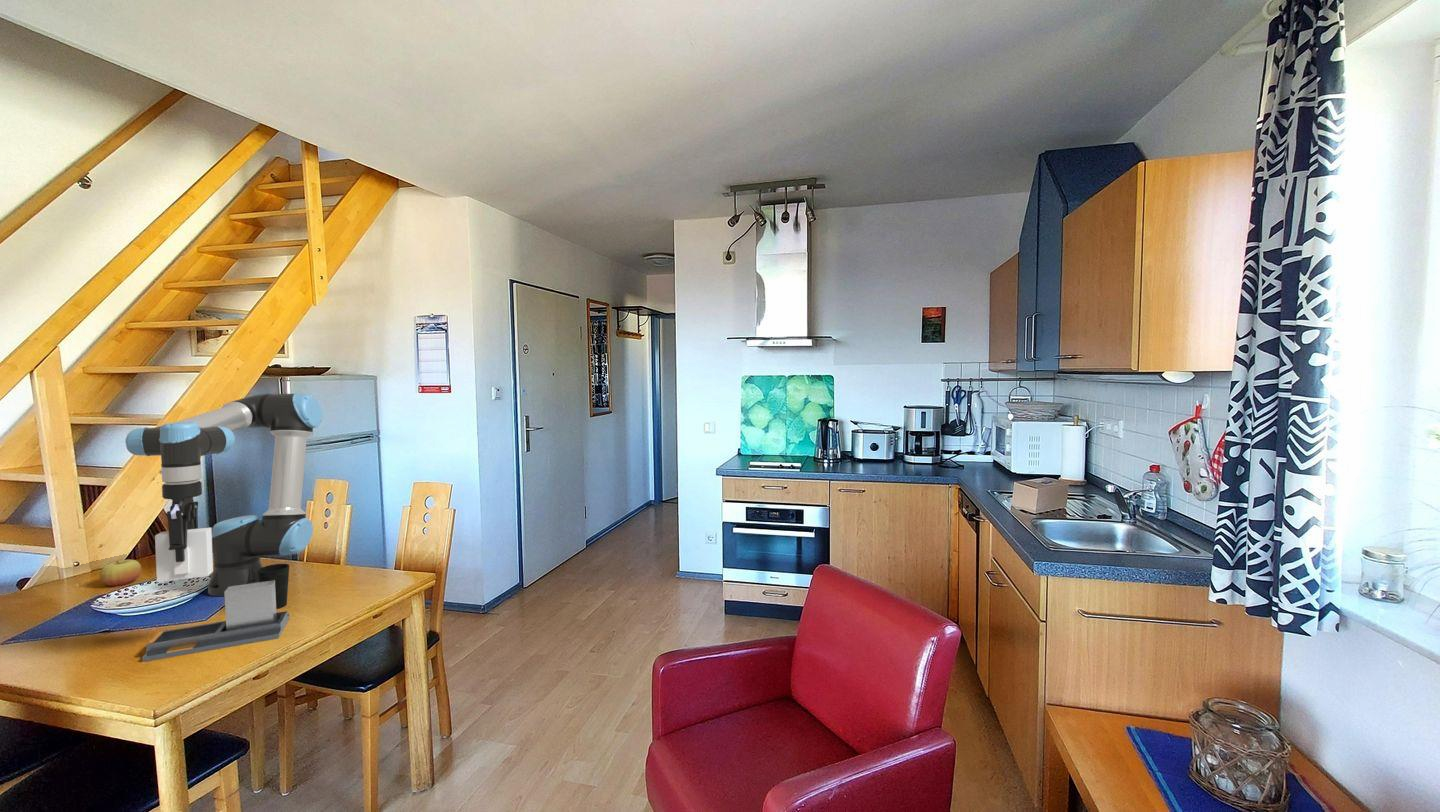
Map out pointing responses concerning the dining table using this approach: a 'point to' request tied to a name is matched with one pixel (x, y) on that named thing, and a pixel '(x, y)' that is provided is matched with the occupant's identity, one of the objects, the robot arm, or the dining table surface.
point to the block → (198, 555)
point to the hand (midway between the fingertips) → (185, 570)
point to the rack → (226, 624)
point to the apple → (120, 572)
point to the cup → (276, 581)
